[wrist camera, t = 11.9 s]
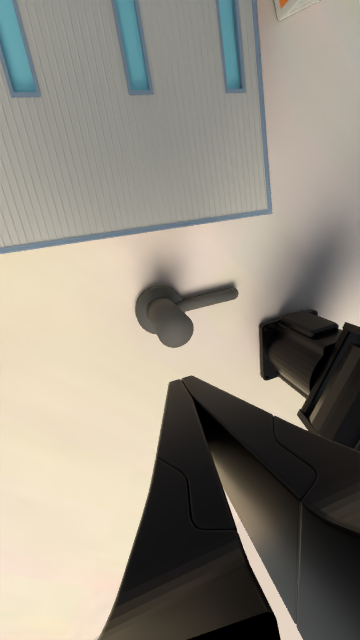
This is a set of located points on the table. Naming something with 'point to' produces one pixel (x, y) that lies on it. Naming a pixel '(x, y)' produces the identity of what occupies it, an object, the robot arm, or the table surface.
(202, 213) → the grey slotted box
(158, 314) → the cord posts
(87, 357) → the table surface
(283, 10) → the skincare box
